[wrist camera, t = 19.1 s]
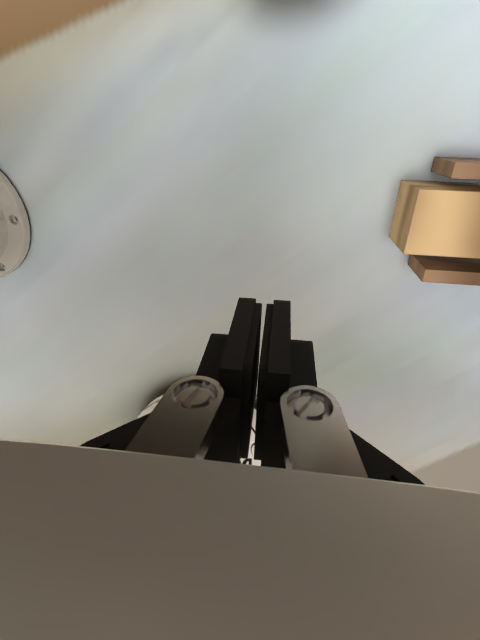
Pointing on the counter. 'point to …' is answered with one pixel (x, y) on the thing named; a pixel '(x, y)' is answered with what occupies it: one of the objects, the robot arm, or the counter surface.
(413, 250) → the oak bar
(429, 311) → the counter surface
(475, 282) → the cradle
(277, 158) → the counter surface
